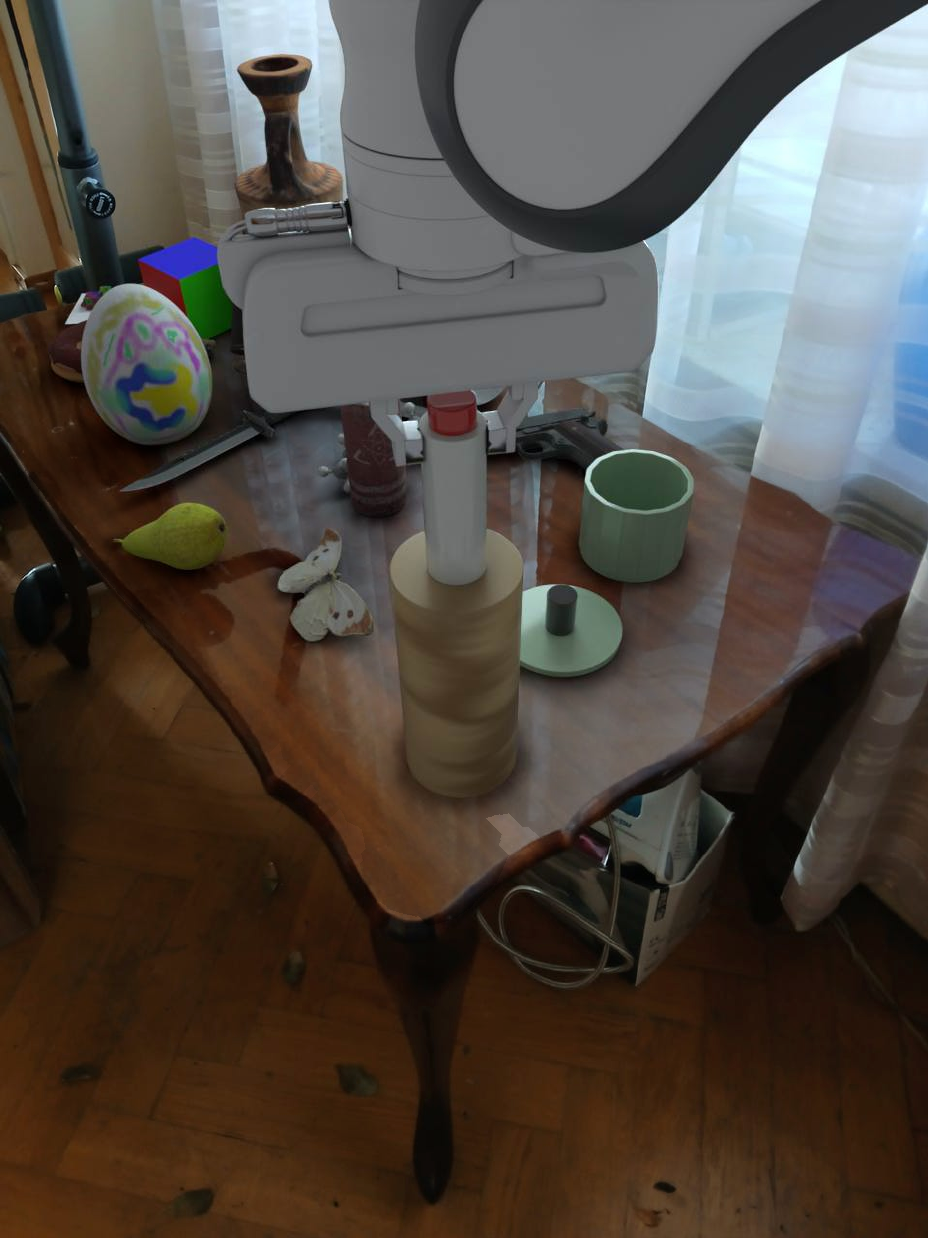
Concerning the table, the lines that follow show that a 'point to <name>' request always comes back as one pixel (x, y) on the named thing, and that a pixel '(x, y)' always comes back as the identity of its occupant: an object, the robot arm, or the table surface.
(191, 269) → the cube
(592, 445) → the handgun
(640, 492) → the pot
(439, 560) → the spice bottle
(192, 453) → the knife
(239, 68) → the vase
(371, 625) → the butterfly
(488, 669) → the pedestal
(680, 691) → the table surface
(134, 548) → the fruit
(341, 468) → the molecular model
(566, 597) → the pot lid
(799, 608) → the table surface
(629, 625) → the table surface
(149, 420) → the decorative egg
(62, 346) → the donut
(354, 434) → the can
